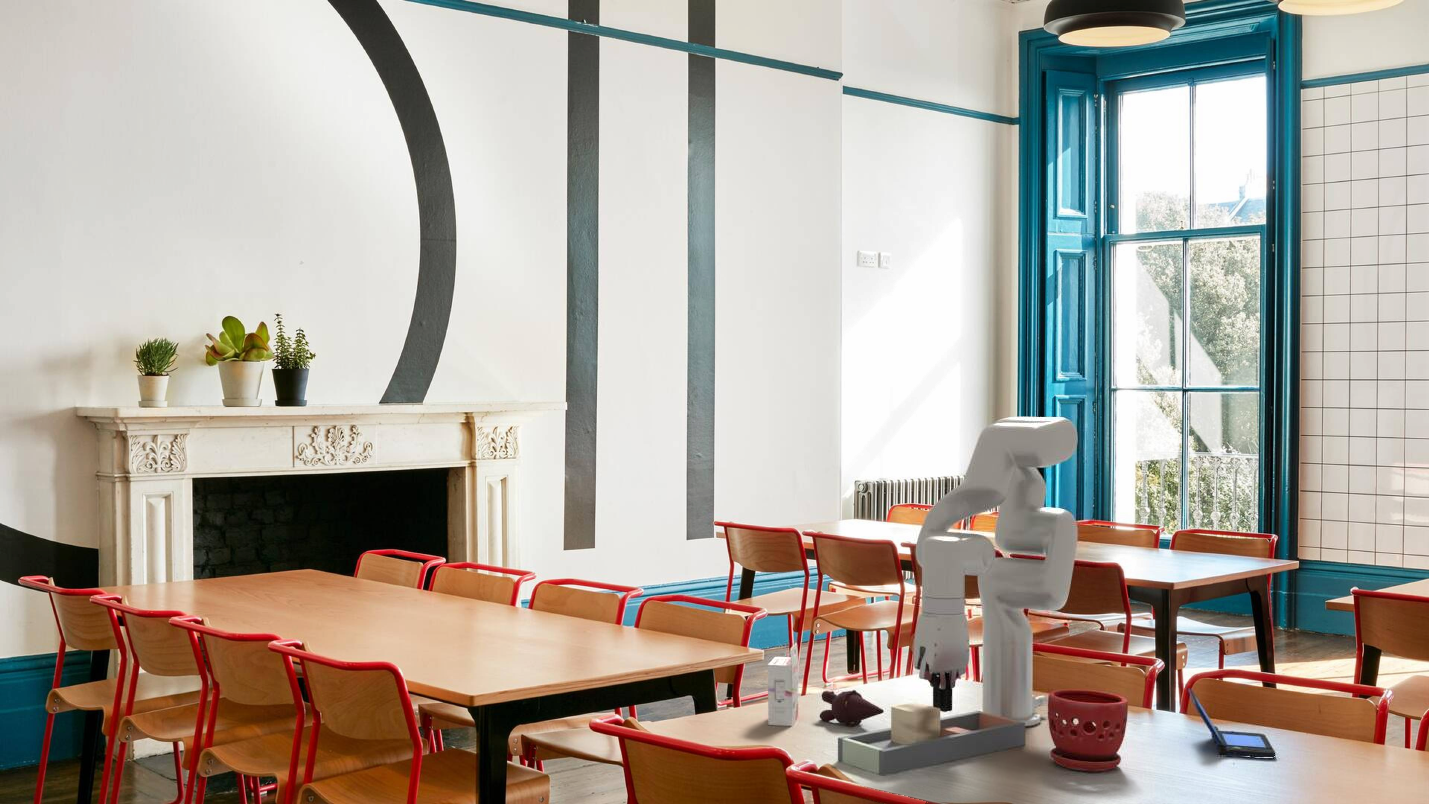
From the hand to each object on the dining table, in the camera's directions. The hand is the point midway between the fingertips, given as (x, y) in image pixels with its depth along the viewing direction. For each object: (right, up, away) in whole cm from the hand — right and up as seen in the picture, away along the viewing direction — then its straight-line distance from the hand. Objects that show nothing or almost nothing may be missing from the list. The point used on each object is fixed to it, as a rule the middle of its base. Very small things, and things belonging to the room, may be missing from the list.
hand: (942, 709), depth 236 cm
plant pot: (+23, -8, -9) cm, 26 cm away
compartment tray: (-2, -7, -1) cm, 8 cm away
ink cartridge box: (-27, -8, +22) cm, 36 cm away
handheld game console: (+53, -8, +4) cm, 53 cm away
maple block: (-5, -5, -4) cm, 8 cm away
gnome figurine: (-14, -8, +19) cm, 25 cm away
